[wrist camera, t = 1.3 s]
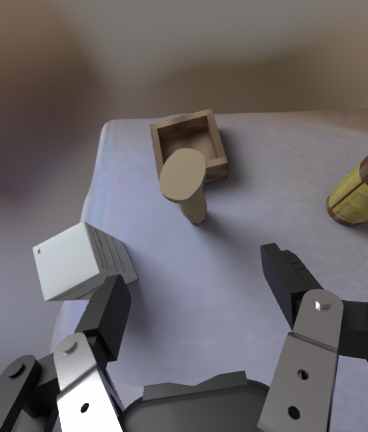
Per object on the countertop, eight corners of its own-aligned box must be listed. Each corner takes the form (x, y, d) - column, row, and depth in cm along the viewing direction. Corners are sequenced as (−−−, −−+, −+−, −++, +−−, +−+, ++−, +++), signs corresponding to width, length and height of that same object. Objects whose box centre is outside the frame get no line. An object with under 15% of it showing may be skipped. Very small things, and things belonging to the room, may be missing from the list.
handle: (215, 202, 39) (211, 152, 25) (204, 237, 37) (193, 204, 23) (189, 196, 40) (171, 144, 26) (178, 229, 39) (152, 193, 25)
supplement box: (99, 300, 37) (41, 304, 25) (87, 259, 40) (29, 246, 28) (139, 279, 37) (100, 273, 25) (124, 240, 40) (82, 218, 28)
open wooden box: (213, 127, 44) (211, 108, 39) (227, 177, 40) (227, 162, 35) (157, 142, 45) (149, 125, 40) (165, 192, 41) (158, 179, 37)
